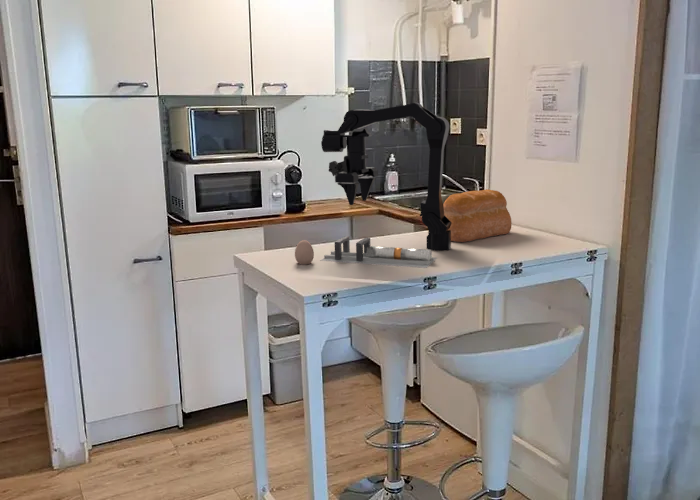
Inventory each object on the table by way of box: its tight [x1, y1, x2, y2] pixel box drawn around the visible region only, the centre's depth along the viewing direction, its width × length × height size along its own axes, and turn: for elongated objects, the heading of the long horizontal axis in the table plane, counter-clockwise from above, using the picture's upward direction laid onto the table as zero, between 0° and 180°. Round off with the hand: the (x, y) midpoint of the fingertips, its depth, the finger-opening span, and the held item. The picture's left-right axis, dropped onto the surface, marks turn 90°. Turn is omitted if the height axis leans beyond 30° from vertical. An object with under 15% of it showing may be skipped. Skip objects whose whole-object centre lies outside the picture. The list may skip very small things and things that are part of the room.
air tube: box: [366, 245, 433, 262], centre depth 186 cm, size 18×4×4 cm, turn 69°
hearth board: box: [319, 250, 437, 269], centre depth 188 cm, size 31×12×2 cm, turn 69°
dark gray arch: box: [355, 237, 371, 261], centre depth 189 cm, size 2×8×5 cm, turn 159°
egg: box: [294, 239, 315, 266], centre depth 185 cm, size 5×5×7 cm
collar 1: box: [334, 235, 351, 260], centre depth 191 cm, size 2×8×5 cm, turn 159°
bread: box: [443, 189, 513, 243], centre depth 220 cm, size 14×26×15 cm, turn 126°
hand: (357, 202), depth 204 cm, fingers open, 9 cm apart
